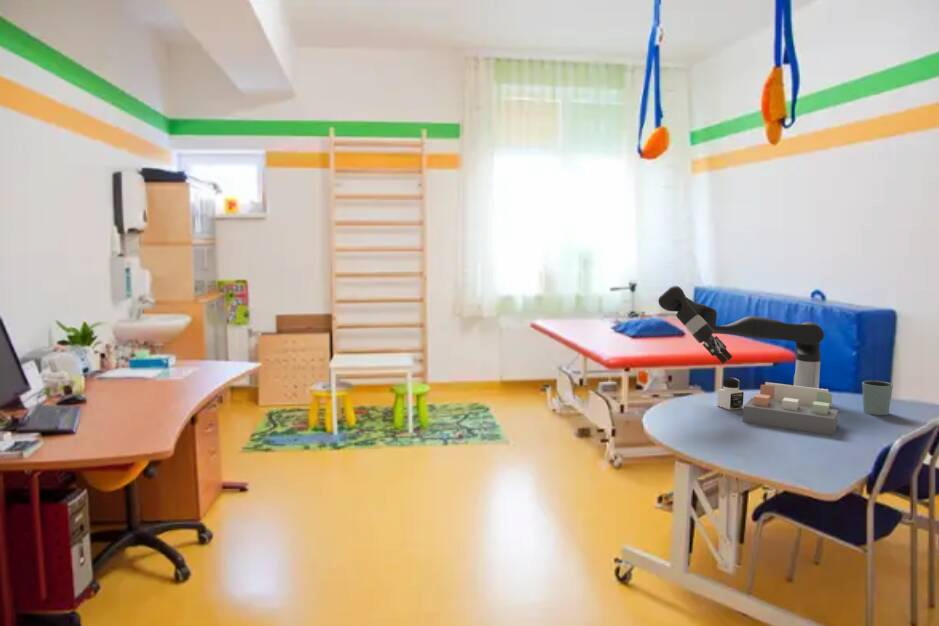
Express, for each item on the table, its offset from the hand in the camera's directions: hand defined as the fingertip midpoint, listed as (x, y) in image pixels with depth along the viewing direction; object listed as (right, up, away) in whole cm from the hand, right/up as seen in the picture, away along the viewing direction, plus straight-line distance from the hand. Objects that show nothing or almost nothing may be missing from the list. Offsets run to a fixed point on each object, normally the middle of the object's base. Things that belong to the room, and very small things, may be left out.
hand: (727, 360), depth 253 cm
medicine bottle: (+6, -20, +12) cm, 24 cm away
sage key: (+27, -19, -17) cm, 37 cm away
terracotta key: (+11, -18, -5) cm, 21 cm away
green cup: (+60, -21, +4) cm, 64 cm away
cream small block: (+19, -18, -11) cm, 29 cm away
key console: (+20, -23, -8) cm, 32 cm away
